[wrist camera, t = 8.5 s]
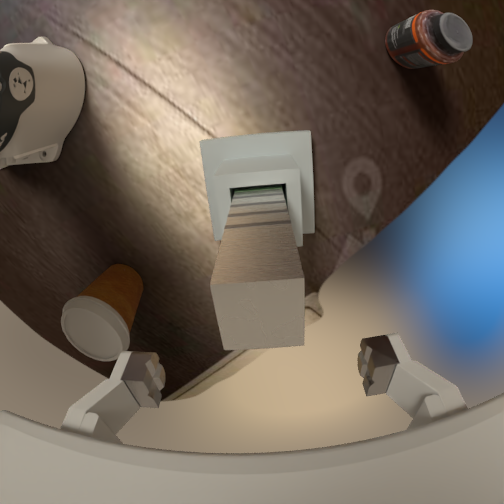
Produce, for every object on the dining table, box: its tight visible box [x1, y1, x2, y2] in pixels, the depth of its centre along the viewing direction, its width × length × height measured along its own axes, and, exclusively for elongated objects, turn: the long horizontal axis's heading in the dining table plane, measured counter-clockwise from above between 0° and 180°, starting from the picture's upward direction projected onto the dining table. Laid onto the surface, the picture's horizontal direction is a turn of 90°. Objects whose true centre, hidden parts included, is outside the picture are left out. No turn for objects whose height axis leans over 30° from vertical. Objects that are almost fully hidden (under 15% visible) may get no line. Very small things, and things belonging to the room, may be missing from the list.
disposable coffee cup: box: [61, 264, 143, 361], centre depth 36 cm, size 10×10×12 cm
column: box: [210, 184, 305, 350], centre depth 21 cm, size 4×4×16 cm
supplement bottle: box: [385, 10, 472, 69], centre depth 20 cm, size 6×6×11 cm
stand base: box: [200, 130, 315, 247], centre depth 30 cm, size 12×12×10 cm
